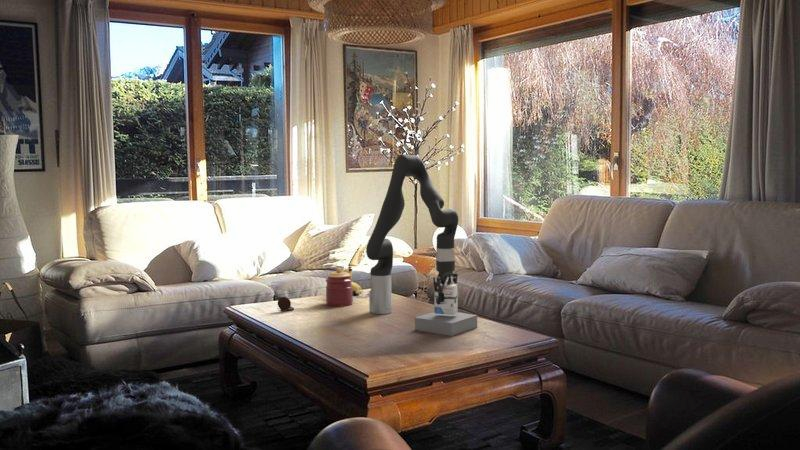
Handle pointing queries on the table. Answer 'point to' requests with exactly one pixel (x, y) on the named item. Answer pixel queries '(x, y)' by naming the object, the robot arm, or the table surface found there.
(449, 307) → the ink box
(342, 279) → the canister
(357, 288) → the stuffed giraffe
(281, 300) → the dark brown round ball
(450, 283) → the robot arm
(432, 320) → the plinth
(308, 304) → the table surface
